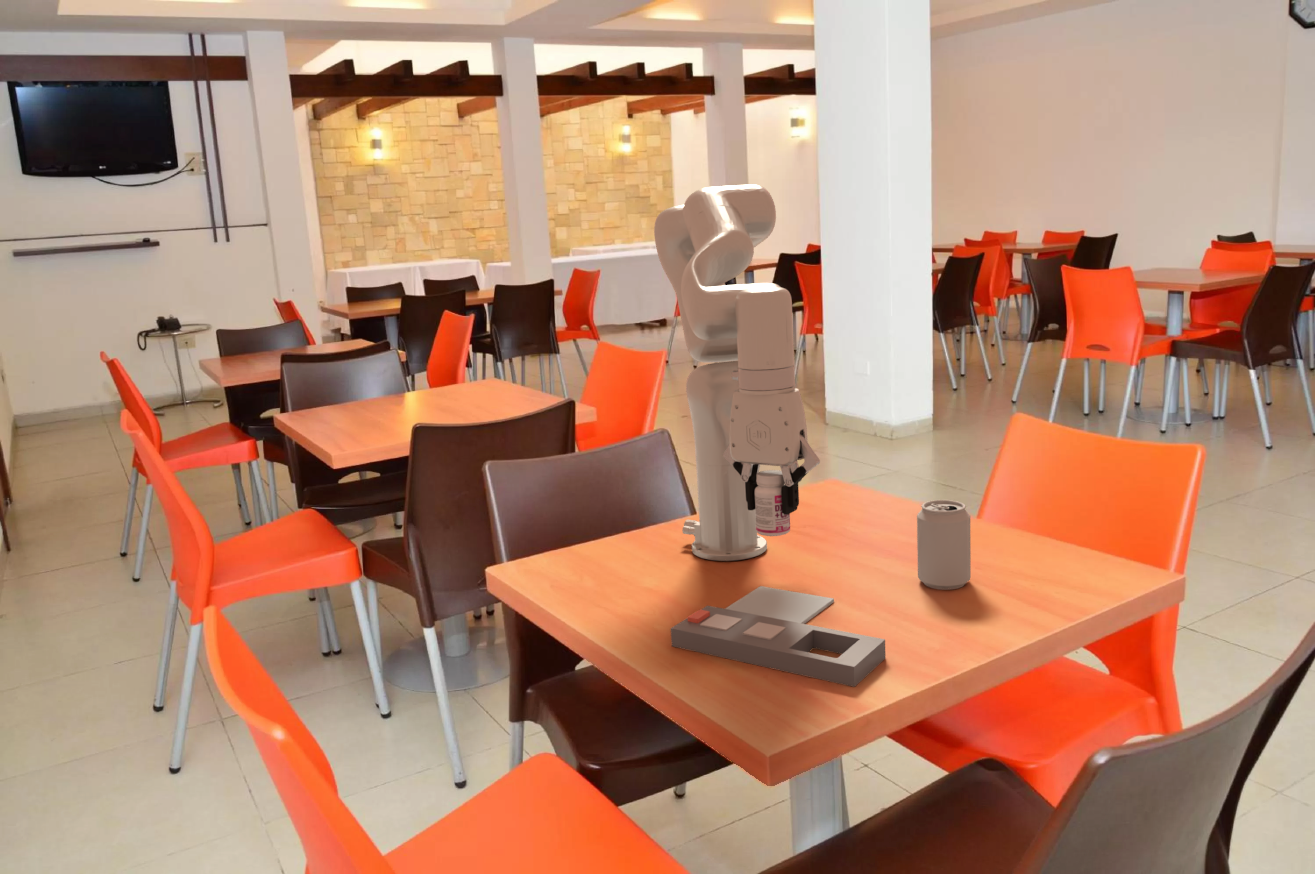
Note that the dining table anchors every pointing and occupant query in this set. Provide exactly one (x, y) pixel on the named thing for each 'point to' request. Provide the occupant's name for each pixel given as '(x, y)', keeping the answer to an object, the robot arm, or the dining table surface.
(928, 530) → the can
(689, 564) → the dining table surface
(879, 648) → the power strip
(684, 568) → the dining table surface
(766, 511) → the pill bottle
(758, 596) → the mat
